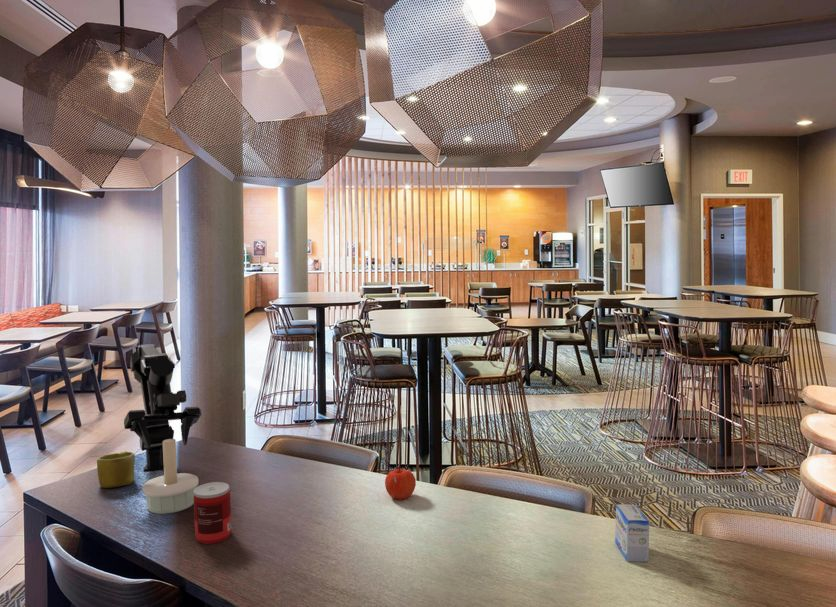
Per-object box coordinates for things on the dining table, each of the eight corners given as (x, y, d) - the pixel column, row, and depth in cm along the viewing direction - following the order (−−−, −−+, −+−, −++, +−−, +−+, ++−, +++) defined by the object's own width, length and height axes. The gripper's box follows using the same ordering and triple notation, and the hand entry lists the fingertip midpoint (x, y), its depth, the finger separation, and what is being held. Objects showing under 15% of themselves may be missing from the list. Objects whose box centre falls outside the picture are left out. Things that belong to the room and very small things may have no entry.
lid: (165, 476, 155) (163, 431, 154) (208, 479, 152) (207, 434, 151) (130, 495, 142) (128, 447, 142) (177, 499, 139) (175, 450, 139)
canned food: (221, 525, 136) (219, 479, 135) (238, 536, 130) (236, 488, 129) (189, 536, 130) (187, 488, 129) (204, 548, 125) (202, 498, 124)
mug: (128, 484, 156) (119, 448, 157) (93, 496, 156) (84, 460, 158) (152, 477, 168) (144, 443, 170) (120, 487, 169) (111, 454, 170)
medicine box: (614, 543, 124) (615, 503, 124) (635, 543, 124) (636, 503, 124) (626, 562, 117) (627, 520, 116) (649, 562, 116) (649, 520, 116)
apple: (409, 505, 145) (408, 473, 145) (379, 500, 148) (379, 470, 148) (420, 493, 153) (420, 463, 152) (392, 489, 156) (392, 460, 155)
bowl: (152, 498, 151) (151, 481, 151) (197, 493, 154) (196, 477, 154) (143, 516, 141) (142, 498, 141) (191, 510, 143) (191, 493, 143)
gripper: (131, 380, 151) (137, 436, 144) (203, 378, 163) (212, 429, 156) (121, 401, 158) (126, 455, 150) (191, 398, 170) (199, 447, 162)
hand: (167, 446), depth 154 cm, fingers open, 9 cm apart
